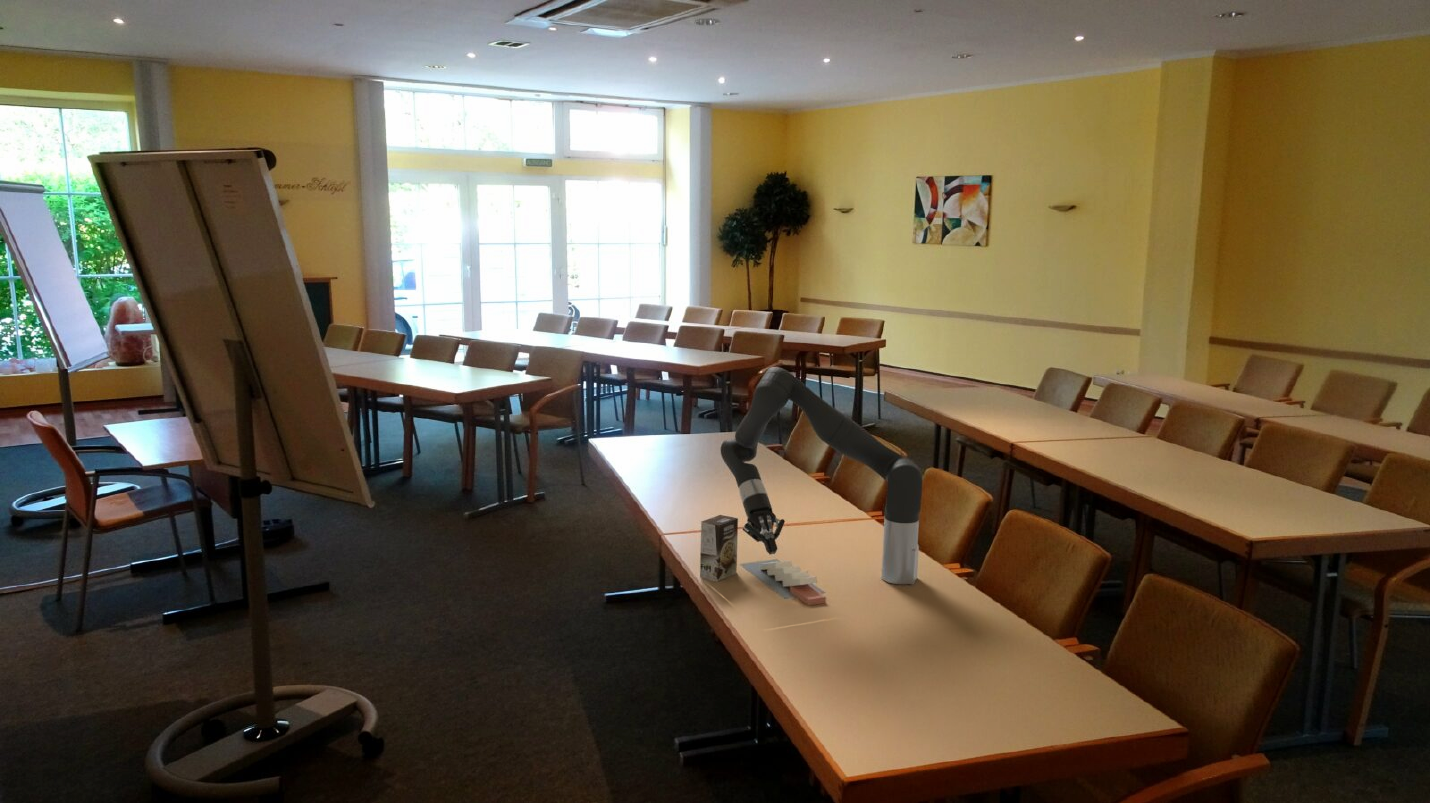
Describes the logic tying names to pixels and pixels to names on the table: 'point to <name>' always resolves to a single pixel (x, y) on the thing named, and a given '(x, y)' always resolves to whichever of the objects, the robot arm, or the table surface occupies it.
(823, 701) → the table surface
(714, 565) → the coffee box
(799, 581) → the domino
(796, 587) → the domino
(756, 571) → the mat
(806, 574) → the domino
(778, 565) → the domino
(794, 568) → the domino
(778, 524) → the robot arm
